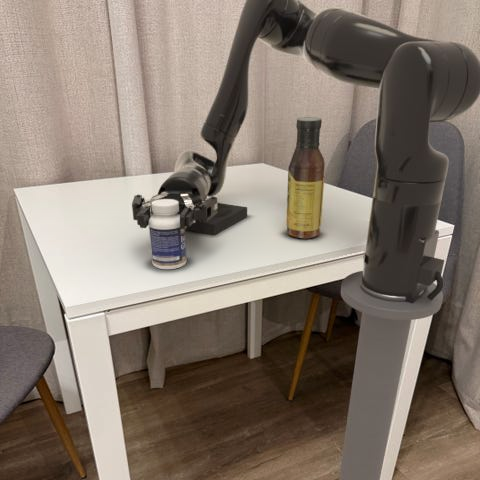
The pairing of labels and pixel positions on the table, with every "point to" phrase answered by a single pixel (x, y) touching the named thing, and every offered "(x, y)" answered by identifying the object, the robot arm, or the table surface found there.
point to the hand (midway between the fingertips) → (162, 222)
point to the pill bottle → (167, 235)
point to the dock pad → (220, 219)
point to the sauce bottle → (305, 181)
